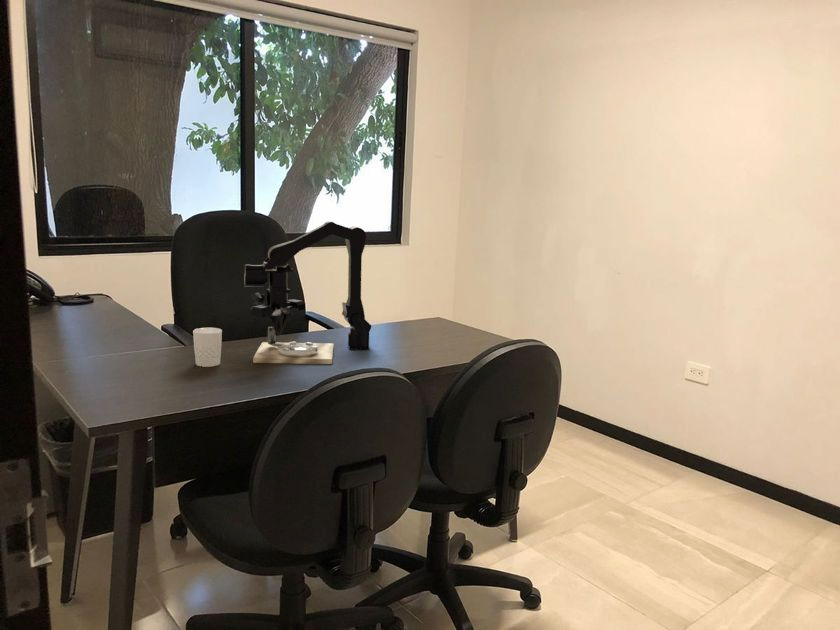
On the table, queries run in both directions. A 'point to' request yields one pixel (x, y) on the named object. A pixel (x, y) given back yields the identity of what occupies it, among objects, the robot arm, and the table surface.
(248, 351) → the table surface
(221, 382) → the table surface
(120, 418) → the table surface
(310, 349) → the grey metal part
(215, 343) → the white cup
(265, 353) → the base plate
